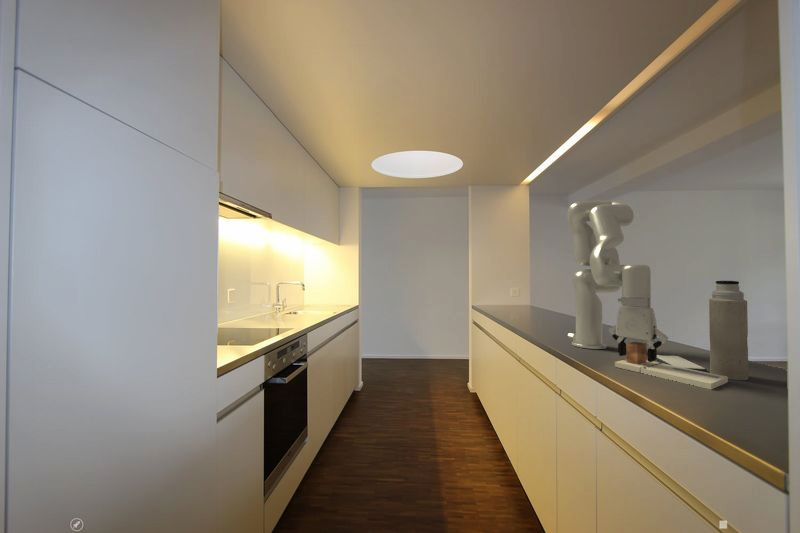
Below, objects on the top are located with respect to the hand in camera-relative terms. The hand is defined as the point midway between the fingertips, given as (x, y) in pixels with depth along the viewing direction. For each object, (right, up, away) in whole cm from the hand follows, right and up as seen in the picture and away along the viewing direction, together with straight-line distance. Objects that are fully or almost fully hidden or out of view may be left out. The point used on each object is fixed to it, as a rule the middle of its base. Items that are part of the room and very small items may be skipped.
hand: (636, 357), depth 105 cm
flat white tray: (+6, -3, -10) cm, 12 cm away
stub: (0, -3, 0) cm, 3 cm away
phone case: (+16, -4, +4) cm, 17 cm away
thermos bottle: (+21, -3, -8) cm, 23 cm away
